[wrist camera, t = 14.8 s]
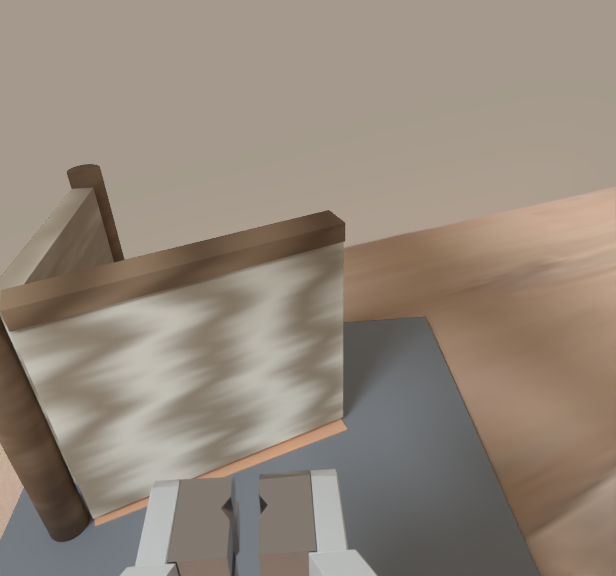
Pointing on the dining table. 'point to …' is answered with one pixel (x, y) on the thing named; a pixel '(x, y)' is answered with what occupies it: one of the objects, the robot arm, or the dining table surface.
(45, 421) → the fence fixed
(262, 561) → the robot arm
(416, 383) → the board
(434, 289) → the dining table surface
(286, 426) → the fence panel
